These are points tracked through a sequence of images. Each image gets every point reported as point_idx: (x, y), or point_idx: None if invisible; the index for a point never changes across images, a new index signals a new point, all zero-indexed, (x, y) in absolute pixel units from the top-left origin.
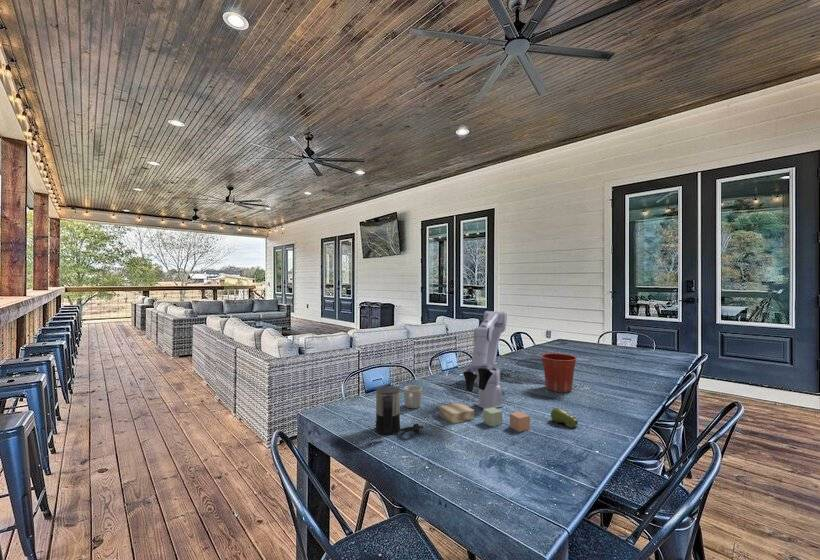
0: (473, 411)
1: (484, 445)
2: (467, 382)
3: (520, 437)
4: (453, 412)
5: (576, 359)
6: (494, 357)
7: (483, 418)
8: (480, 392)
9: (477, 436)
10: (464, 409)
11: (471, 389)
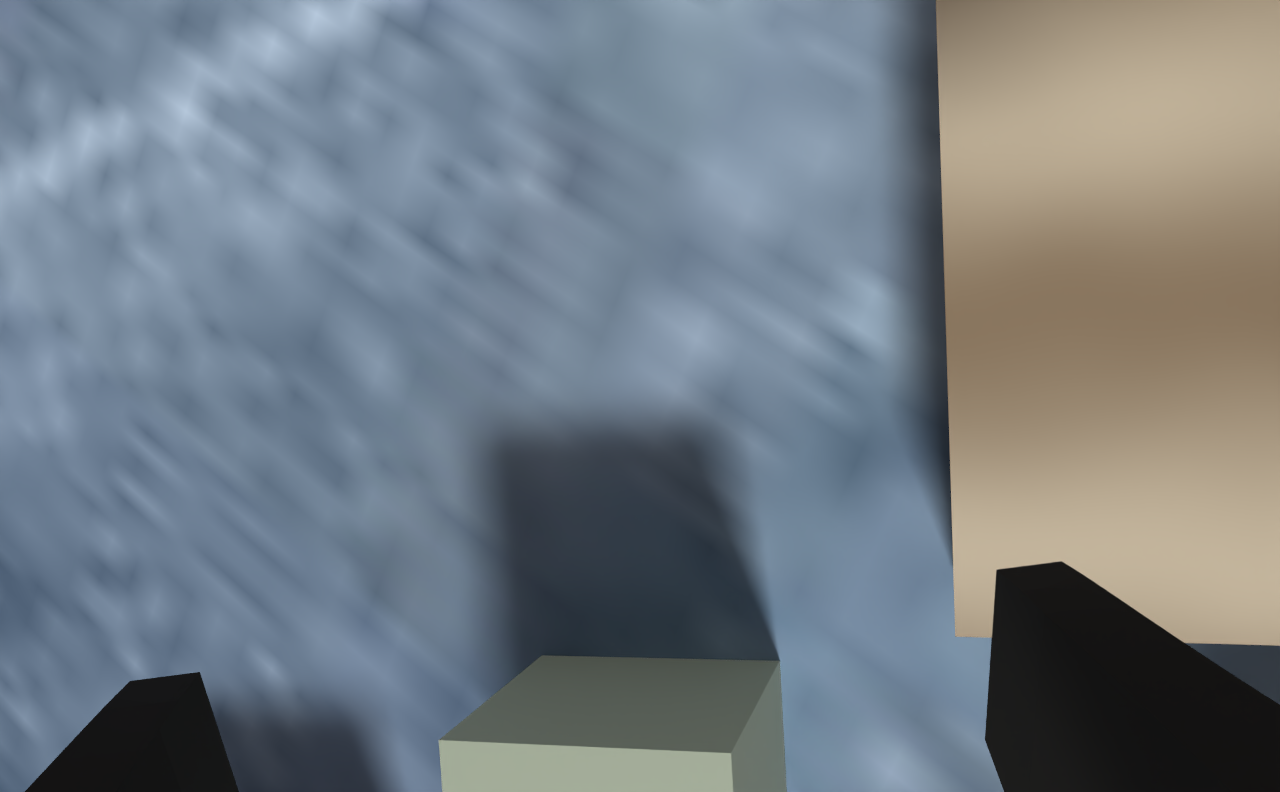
0: (955, 602)
1: (51, 135)
2: (1189, 762)
3: None
4: (1036, 69)
5: None
6: None
7: (756, 681)
8: None
9: (314, 203)
10: (1106, 440)
11: (1022, 778)
